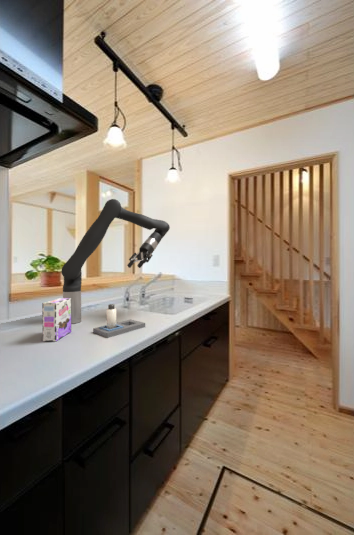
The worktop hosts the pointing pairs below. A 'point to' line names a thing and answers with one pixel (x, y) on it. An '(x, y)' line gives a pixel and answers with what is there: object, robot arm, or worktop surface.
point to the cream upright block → (111, 317)
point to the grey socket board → (119, 328)
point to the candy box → (56, 319)
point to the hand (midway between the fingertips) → (133, 266)
